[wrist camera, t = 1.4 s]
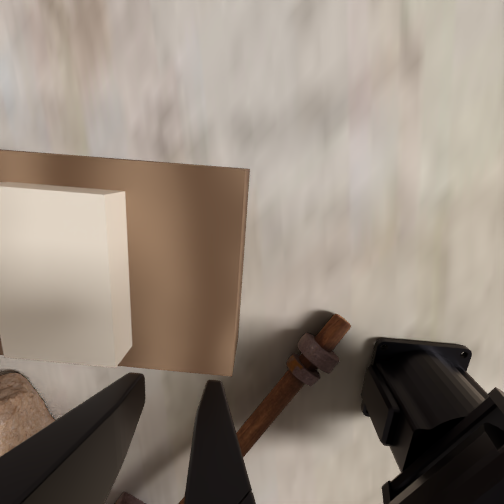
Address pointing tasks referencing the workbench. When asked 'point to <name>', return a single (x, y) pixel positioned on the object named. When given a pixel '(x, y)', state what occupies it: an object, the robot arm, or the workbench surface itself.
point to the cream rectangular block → (64, 274)
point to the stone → (19, 411)
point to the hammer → (287, 384)
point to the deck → (167, 251)
